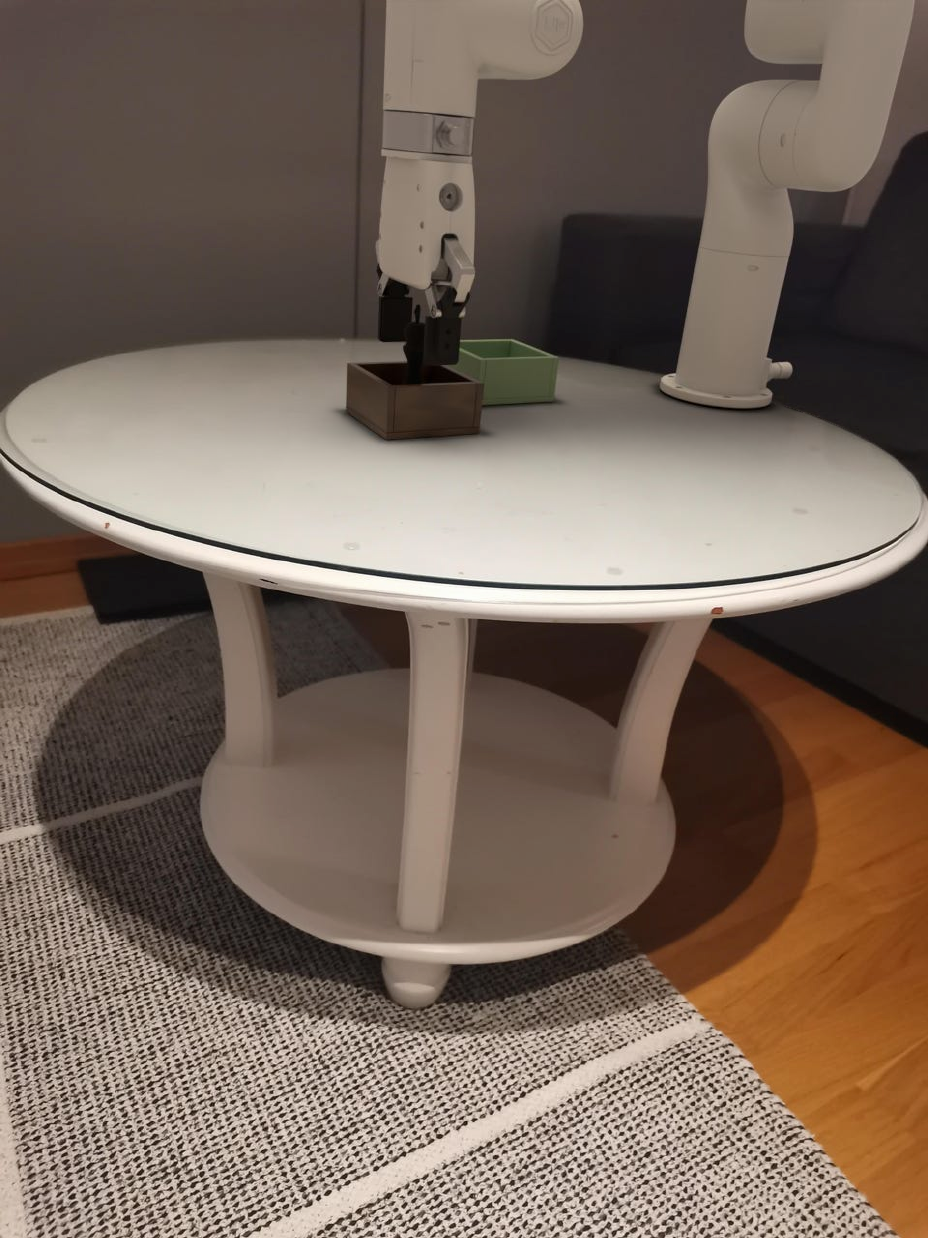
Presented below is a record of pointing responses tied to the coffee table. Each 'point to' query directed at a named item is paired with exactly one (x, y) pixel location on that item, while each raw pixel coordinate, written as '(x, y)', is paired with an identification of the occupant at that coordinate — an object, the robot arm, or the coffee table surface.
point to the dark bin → (413, 400)
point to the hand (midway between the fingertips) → (416, 352)
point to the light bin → (509, 370)
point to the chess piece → (414, 349)
